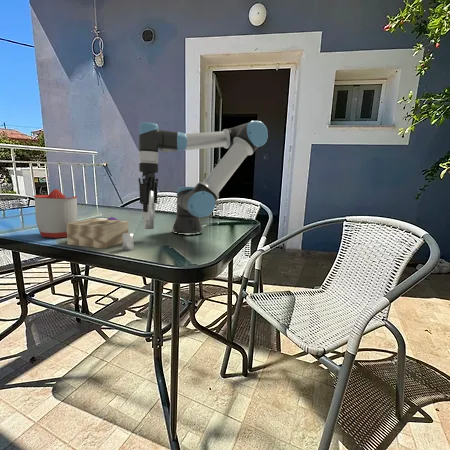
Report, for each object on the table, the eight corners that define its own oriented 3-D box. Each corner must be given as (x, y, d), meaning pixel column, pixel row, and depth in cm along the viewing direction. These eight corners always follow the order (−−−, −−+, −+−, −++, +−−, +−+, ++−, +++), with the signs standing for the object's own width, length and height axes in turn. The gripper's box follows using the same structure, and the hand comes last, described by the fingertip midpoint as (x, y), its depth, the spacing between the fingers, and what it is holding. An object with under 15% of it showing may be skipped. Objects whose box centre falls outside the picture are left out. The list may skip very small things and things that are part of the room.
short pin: (135, 248, 101) (135, 233, 100) (130, 251, 98) (130, 235, 97) (126, 247, 102) (126, 232, 101) (120, 250, 98) (120, 234, 97)
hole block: (128, 239, 115) (128, 221, 113) (105, 248, 99) (105, 227, 98) (94, 236, 117) (94, 218, 116) (67, 244, 102) (66, 223, 101)
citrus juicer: (89, 233, 122) (88, 189, 119) (56, 241, 106) (54, 190, 102) (62, 230, 126) (60, 187, 123) (26, 236, 110) (23, 187, 106)
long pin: (155, 227, 116) (155, 190, 114) (151, 229, 112) (151, 191, 110) (146, 227, 117) (146, 190, 114) (142, 228, 113) (142, 190, 110)
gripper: (149, 163, 119) (149, 215, 123) (129, 160, 102) (130, 221, 106) (165, 164, 118) (165, 216, 122) (147, 161, 101) (148, 222, 105)
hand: (149, 218), depth 114 cm, fingers closed on long pin, 4 cm apart
